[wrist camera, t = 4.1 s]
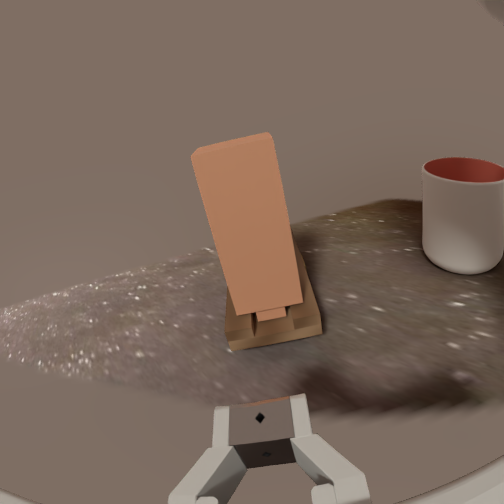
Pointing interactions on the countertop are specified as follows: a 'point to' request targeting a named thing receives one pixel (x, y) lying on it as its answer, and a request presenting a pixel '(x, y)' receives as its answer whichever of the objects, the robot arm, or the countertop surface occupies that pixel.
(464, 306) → the countertop surface
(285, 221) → the plate
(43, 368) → the countertop surface
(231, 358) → the countertop surface
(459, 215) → the cup
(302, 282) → the beam
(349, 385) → the countertop surface
